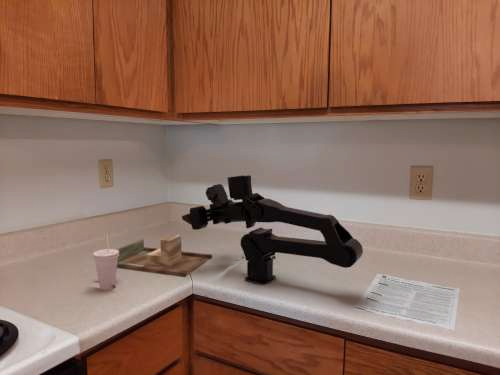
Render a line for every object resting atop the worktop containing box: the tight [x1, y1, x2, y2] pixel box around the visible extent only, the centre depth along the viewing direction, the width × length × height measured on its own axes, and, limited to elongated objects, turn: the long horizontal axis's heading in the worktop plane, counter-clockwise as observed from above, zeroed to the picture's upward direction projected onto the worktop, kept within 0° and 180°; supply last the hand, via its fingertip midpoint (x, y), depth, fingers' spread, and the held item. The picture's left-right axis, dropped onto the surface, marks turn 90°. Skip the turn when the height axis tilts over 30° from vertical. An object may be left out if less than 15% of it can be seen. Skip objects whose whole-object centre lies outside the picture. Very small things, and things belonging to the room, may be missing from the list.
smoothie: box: [92, 235, 119, 292], centre depth 95 cm, size 6×6×14 cm
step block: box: [146, 234, 182, 267], centre depth 111 cm, size 8×7×8 cm
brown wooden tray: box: [116, 238, 213, 278], centre depth 112 cm, size 26×18×6 cm
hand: (192, 215), depth 113 cm, fingers open, 9 cm apart
